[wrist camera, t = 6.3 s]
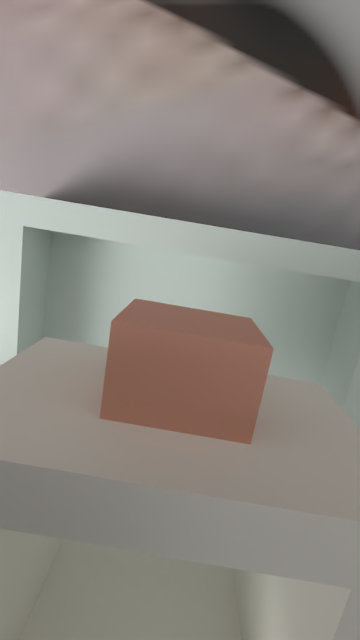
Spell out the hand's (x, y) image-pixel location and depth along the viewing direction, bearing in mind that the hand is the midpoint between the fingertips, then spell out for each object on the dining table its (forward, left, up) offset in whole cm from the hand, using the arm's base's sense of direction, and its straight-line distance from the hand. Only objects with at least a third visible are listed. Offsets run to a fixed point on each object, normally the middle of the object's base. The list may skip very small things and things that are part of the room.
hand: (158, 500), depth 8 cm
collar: (0, 0, -1) cm, 1 cm away
